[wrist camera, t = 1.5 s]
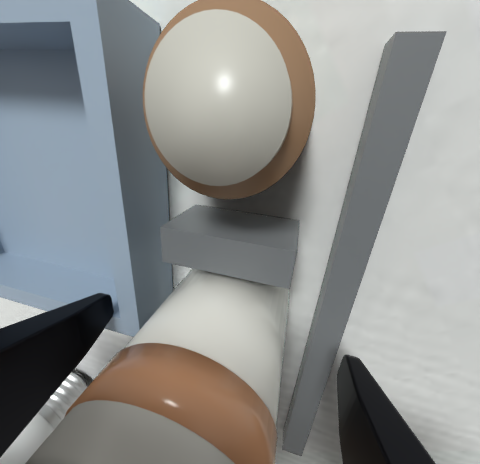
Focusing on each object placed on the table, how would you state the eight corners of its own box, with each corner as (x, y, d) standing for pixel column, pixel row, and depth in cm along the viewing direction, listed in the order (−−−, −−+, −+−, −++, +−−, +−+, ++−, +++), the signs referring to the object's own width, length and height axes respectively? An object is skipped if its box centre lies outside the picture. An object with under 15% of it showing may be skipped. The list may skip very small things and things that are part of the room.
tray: (159, 23, 7) (92, -29, 5) (173, 299, 11) (140, 339, 9) (-77, 28, 9) (-198, -7, 7) (9, 258, 14) (-50, 282, 11)
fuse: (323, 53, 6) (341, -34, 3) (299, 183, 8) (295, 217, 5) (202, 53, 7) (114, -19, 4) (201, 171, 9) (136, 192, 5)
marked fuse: (299, 256, 9) (283, 549, 3) (281, 342, 11) (247, 636, 4) (190, 236, 10) (-16, 416, 3) (191, 318, 12) (56, 533, 5)
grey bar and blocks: (428, 44, 6) (507, -14, 4) (301, 438, 13) (300, 502, 11) (195, 44, 7) (144, 1, 5) (196, 402, 14) (175, 452, 12)
